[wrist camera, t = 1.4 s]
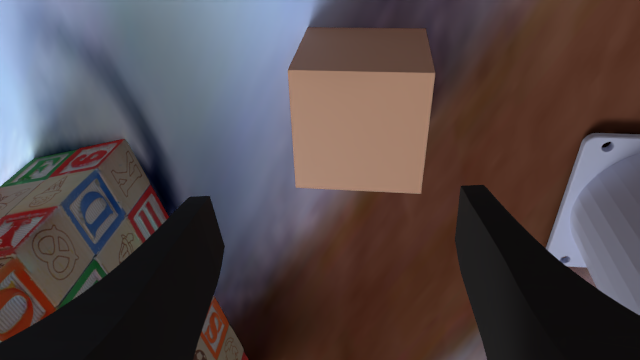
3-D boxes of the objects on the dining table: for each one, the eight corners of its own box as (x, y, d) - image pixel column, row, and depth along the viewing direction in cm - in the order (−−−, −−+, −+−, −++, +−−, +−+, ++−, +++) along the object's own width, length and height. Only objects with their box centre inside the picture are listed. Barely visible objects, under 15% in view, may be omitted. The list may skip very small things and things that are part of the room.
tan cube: (425, 27, 20) (435, 73, 16) (414, 132, 22) (420, 193, 18) (308, 26, 20) (287, 70, 16) (312, 128, 23) (295, 187, 19)
